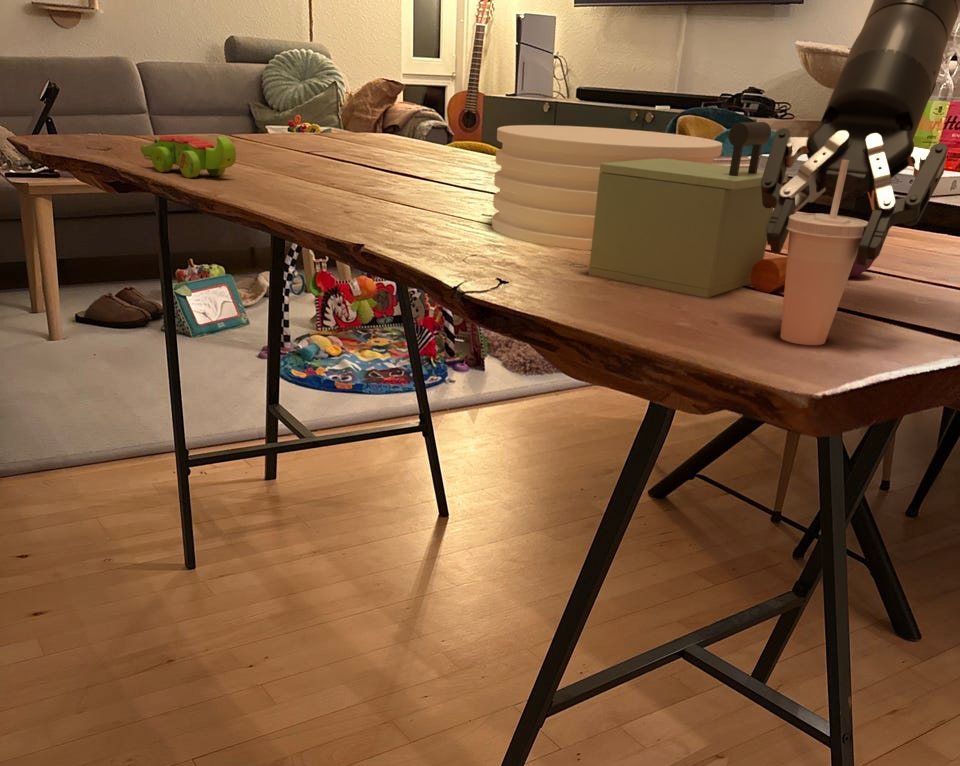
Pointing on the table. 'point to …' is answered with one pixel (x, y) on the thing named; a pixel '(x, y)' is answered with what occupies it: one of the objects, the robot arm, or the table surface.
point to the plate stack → (571, 176)
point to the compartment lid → (703, 172)
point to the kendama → (784, 273)
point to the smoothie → (818, 269)
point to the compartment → (677, 234)
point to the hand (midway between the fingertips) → (817, 252)
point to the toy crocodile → (190, 155)
